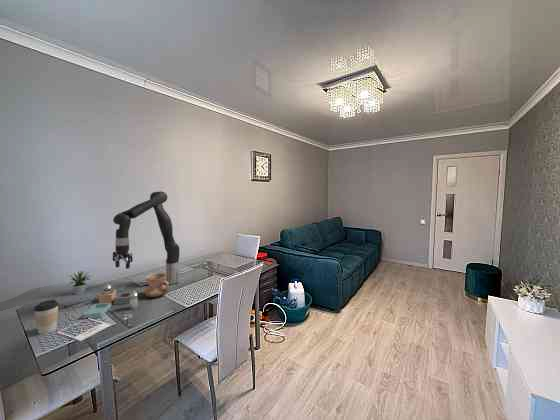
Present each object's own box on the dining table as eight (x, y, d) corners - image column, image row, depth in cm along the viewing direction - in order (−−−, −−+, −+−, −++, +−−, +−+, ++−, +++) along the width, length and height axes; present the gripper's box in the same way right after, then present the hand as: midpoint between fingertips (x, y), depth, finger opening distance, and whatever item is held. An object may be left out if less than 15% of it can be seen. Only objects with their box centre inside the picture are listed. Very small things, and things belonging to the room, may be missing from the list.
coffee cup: (37, 337, 114) (36, 308, 113) (32, 331, 118) (31, 303, 117) (62, 328, 121) (61, 301, 120) (56, 323, 126) (55, 297, 125)
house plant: (75, 299, 154) (74, 275, 153) (59, 296, 157) (58, 273, 156) (96, 290, 168) (95, 269, 167) (81, 288, 171) (80, 267, 170)
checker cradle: (136, 295, 162) (136, 289, 161) (129, 304, 149) (129, 297, 149) (122, 296, 160) (122, 290, 159) (114, 305, 147) (113, 298, 147)
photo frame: (80, 339, 112) (57, 331, 117) (80, 341, 112) (57, 333, 117) (110, 324, 125) (88, 317, 131) (110, 326, 126) (88, 319, 131)
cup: (116, 298, 157) (116, 290, 156) (111, 303, 150) (111, 294, 150) (104, 299, 155) (104, 290, 155) (99, 304, 148) (98, 295, 148)
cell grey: (113, 298, 155) (112, 283, 154) (110, 301, 151) (109, 285, 150) (105, 299, 154) (105, 283, 153) (102, 302, 150) (101, 286, 149)
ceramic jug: (138, 297, 159) (138, 278, 158) (153, 289, 173) (153, 271, 172) (160, 301, 155) (160, 281, 154) (174, 292, 169) (174, 273, 168)
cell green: (138, 306, 147) (138, 290, 146) (136, 309, 143) (136, 293, 142) (131, 307, 146) (131, 290, 145) (128, 310, 141) (128, 293, 141)
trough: (111, 306, 146) (111, 302, 146) (101, 317, 133) (101, 312, 133) (95, 307, 143) (94, 303, 143) (82, 318, 131) (82, 314, 131)
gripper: (135, 243, 155) (135, 267, 156) (119, 242, 158) (119, 265, 159) (125, 246, 147) (125, 270, 148) (108, 244, 151) (109, 268, 152)
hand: (122, 267), depth 154 cm, fingers open, 8 cm apart
